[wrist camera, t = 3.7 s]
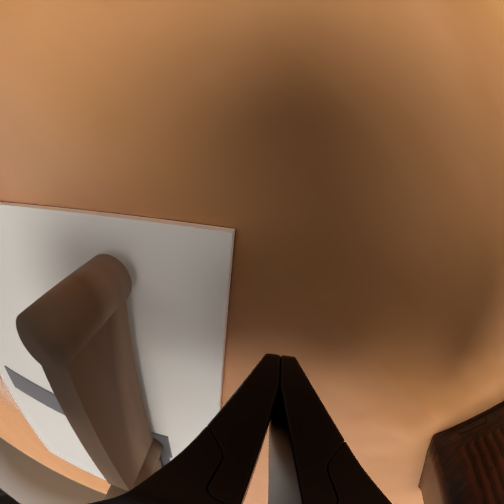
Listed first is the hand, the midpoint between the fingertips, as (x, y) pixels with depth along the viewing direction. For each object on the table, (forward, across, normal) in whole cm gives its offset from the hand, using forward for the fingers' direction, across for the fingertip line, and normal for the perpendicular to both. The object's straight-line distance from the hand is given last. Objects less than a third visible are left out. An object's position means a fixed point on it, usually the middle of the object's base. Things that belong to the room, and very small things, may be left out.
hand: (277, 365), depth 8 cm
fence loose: (+1, +6, +3) cm, 7 cm away
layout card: (+2, +11, +10) cm, 15 cm away
